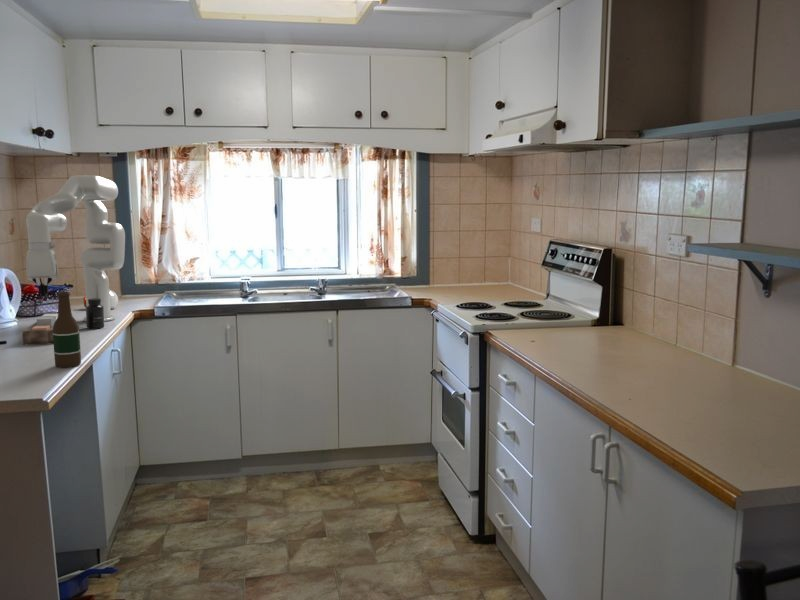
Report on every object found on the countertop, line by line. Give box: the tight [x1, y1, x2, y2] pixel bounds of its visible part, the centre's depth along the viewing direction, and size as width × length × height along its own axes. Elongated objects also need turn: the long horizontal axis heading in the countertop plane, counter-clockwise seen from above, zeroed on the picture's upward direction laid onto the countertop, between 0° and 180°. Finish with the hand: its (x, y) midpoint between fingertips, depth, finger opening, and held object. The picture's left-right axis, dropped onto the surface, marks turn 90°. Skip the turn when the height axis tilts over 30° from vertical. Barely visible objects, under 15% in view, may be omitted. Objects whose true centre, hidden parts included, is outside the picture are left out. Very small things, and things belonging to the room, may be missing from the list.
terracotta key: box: [32, 325, 50, 331], centre depth 264 cm, size 5×5×4 cm
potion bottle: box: [83, 289, 119, 310], centre depth 338 cm, size 9×10×15 cm
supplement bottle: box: [85, 298, 105, 330], centre depth 292 cm, size 7×7×12 cm
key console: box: [21, 321, 54, 346], centre depth 271 cm, size 11×21×5 cm, turn 13°
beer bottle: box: [53, 290, 82, 369], centre depth 227 cm, size 8×8×24 cm
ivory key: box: [41, 313, 58, 321], centre depth 277 cm, size 5×5×4 cm
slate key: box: [36, 316, 55, 327], centre depth 270 cm, size 5×5×4 cm
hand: (43, 295), depth 268 cm, fingers closed
